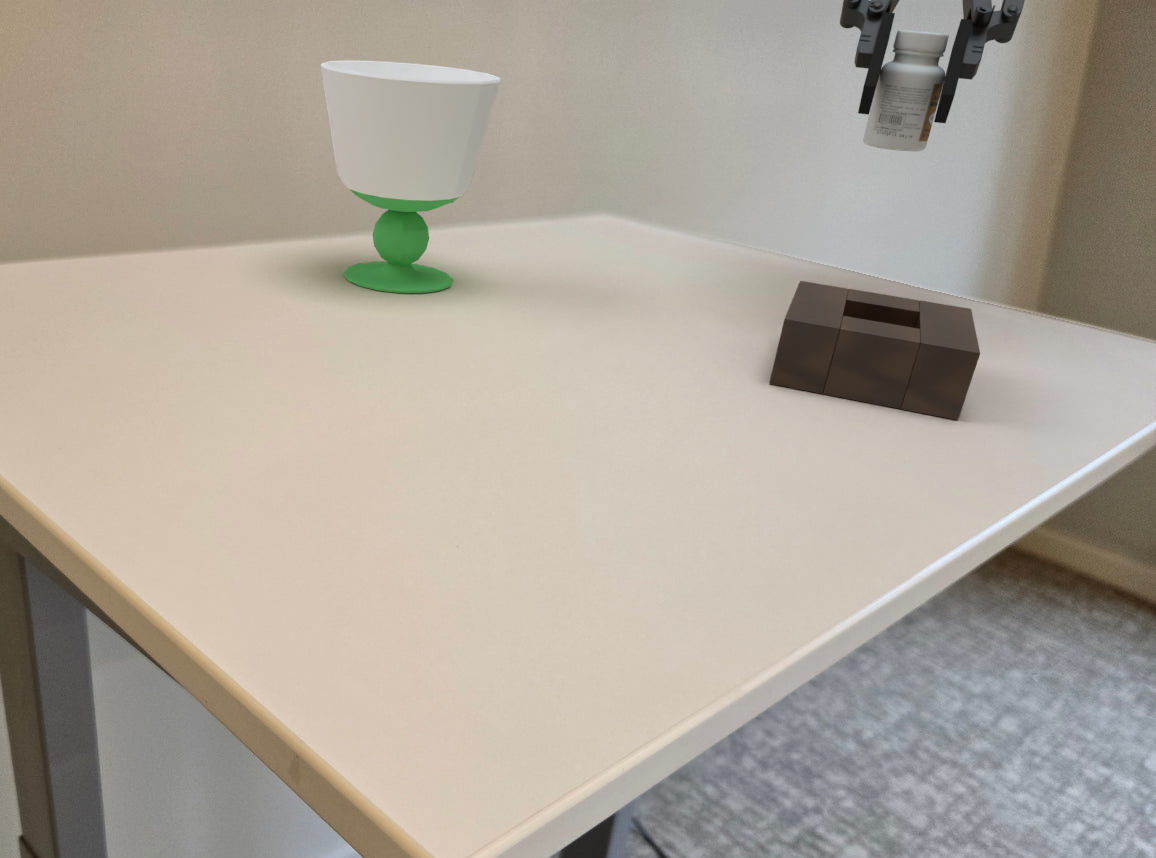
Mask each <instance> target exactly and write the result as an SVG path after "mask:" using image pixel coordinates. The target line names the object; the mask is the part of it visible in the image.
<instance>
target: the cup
mask: <svg viewBox="0 0 1156 858" xmlns="http://www.w3.org/2000/svg"><path fill="white" fill-rule="evenodd" d="M319 66H320V72H321V80H322V86H323V93H324V98H325V105H326V112H327V118H328V124H329V130H330V136H331V137H330V138H331V142H332V143H331V144H332V149H333V157H334V163H335V169H336V173H337V175H338V176H339V178H340V180H341V182H342V184H343V185H344V186H345V187H346V188H347V189H348V190H349V191H350V192H351V193H353V195H354V196H356V197H357V198H359V199H361V200H362V201H365V202H366V203H367V204H370V205H372V206H373V207H376V208H379V209H384V210H386V211H384V212H383V213H382V214H381V215H380V217H379V218H378V219H377V221H376V222H375V223H374V226H373V231H372V243H373V247H374V248H375V250H376V252H377V253H378V256H380V258H381V259H383V260H384V261H368V262H359V263H356V264H353V265H350V266H348V267H347V268H345V270H344V271H343V274H342V275H343V276H344V277H345V279H346V280H347V281H348V282H349V283H351V284H353V285H356V286H358V287H361V288H365V289H370V290H374V291H379V292H387V293H395V294H427V293H435V292H440V291H443V290H446V289H449V288H450V287H451V286H452V285H453V282H454V279H453V277H451V276H450V274H448V273H447V272H446V271H444V270H440V269H438V268H436V267H432V266H427V265H424V264H423V265H422V264H418V263H415V262H417V261H420V258H421V257H422V256H423V255H424V253H425V252H426V250H427V248H428V244H429V240H430V234H429V233H430V232H429V226H428V225H427V223H426V221H425V219H424V217H423V216H422V215H420V213H421V212H423V213H424V212H430V211H433V210H437V209H439V208H442V207H444V206H447V205H449V204H451V203H452V204H453V202H455V201H456V200H458V199H460V198H461V197H462V196H463V194H465V192H466V191H467V190H468V187H470V185H471V184H472V182H473V178H474V175H475V172H476V168H477V164H478V161H479V157H480V154H481V151H482V148H483V147H482V146H483V144H484V139H485V136H486V133H487V129H488V126H489V122H490V119H491V115H492V111H493V108H494V106H495V101H496V98H497V95H498V92H499V87H500V85H501V81H502V79H501V77H500V76H496V75H493V74H491V73H487V72H483V71H476V70H473V69H465V68H458V67H449V66H441V65H434V64H423V63H413V62H412V63H411V62H400V61H399V62H398V61H384V60H383V61H382V60H357V59H355V60H354V59H344V60H343V59H342V60H341V59H340V60H327V61H324V62H322V63H321V64H320V65H319Z"/></svg>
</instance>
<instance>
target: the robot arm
mask: <svg viewBox="0 0 1156 858" xmlns="http://www.w3.org/2000/svg"><path fill="white" fill-rule="evenodd" d="M899 2H900V0H843V1H842V7H841V14H840V19H839V25H840V27H842V28H843V29H852V28H857V29H859V31H860V35H859V39H858V42H857V46H856V50H855V52H856V53H855V56H854V60H853V61H854V66H855V68H858V69H859V68H860V69H867V73H866V76H865V80H864V84H863V87H862V88H863V89H862V93H861V96H860V102H859V106H858V110H857V111H858V112H857V114H861V115H869V114H870V110H871V106H872V102H873V98H874V94H875V90H876V86H877V82H878V79H879V75H880V71H881V69H882V67H883V65H884V60H885V56H886V52H887V49H888V44H889V40H890V38H891V37H890V36H891V32H892V27H893V24H894V20H895V15H896V12H894V10H895V9H896V7H897V6H898V4H899ZM992 3H993V2H992V0H962V15H963V18H960V22H959V25H958V27H957V31H956V34H955V38H954V41H953V44H952V47H951V52H950V56H949V59H948V63H947V68H946V71H945V80H944V84H943V87H942V91H941V94H940V98H939V101H938V105H937V108H936V112H935V116H934V119H933V123H938V124H946V123H947V120H948V117H949V114H950V111H951V107H952V104H953V101H954V99H955V95H956V91H957V86H958V83H959V79H962V80H973V79H974V77H975V76H976V75H977V73H978V70H979V66H980V65H981V61H982V58H983V53H984V49H985V45H986V43H988V42H991V41H995V42H997V43H998V44H1007V43H1009V42H1010V41H1012V39H1013V36H1014V34H1015V31H1016V29H1017V26H1018V23H1019V20H1020V18H1021V14H1022V12H1023V8H1024V5H1025V0H1002V3H1001V7H1000V10H999V9H998V10H995V8H996V4H993V5H992Z"/></svg>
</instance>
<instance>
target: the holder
mask: <svg viewBox="0 0 1156 858" xmlns="http://www.w3.org/2000/svg"><path fill="white" fill-rule="evenodd" d="M780 332H781V333H780V336H779V340H778V344H777V349H776V352H775V357H774V361H773V365H772V369H771V373H770V378H769V382H768V383H769V385H774V386H779V387H784V388H790V389H795V390H799V391H805V392H810V393H815V394H820V395H822V394H823V395H825V396H831V397H836V398H841V399H847V400H851V401H856V402H860V403H861V402H862V403H867V404H872V405H878V406H883V407H887V408H893V409H899V410H903V411H907V412H912V413H913V412H914V413H919V414H922V415H923V414H924V415H929V416H934V417H940V418H945V419H949V420H955V421H959V420H960V416H961V413H962V410H963V407H964V404H965V401H966V398H967V395H968V392H969V389H970V386H971V383H972V379H973V377H974V374H975V371H976V367H977V365H978V362H979V359H980V356H981V351H980V346H979V341H978V336H977V330H976V326H975V321H974V315H973V311H972V308H969V307H963V306H957V305H950V304H945V303H938V302H932V301H926V300H919V299H914V298H908V297H902V296H896V295H890V294H883V293H878V292H871V291H864V290H860V289H853V288H847V287H842V286H841V287H840V286H834V285H828V284H824V283H817V282H810V281H805V280H800V281H799V283H798V285H797V287H796V290H795V292H794V295H793V297H792V299H791V302H790V305H789V307H788V309H787V312H786V314H785V317H784V320H783V324H782V327H781V331H780Z"/></svg>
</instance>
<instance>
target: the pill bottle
mask: <svg viewBox="0 0 1156 858" xmlns="http://www.w3.org/2000/svg"><path fill="white" fill-rule="evenodd" d="M949 38H950V35H949V34H948V33H939V32H932V31H931V32H929V31H922V30H910V29H909V30H908V29H898V30H897V32H896V35H895V38H894V42H893V46H892V47H893V49H892V53H894V56H893V60H892V61H888V62H886V63H885V64H883V65H882V68H881V71H880V75H879V79H878V82H877V86H876V90H875V94H874V97H873V101H872V105H871V109H870V112H869V116H868V118H867V122H866V127H865V130H864V135H863V139H862V142H863V143H864V144H865V145H867V146H870V147H874V148H878V149H883V150H889V151H890V150H891V151H899V152H900V151H901V152H902V151H903V152H922V151H924V150H925V149H926V147H927V145H928V140H929V137H930V135H931V134H930V133H931V130H932V126H933V123H934V120H935V116H936V112H937V108H938V104H939V100H940V96H941V92H942V88H943V84H944V80H945V76H946V71H945V70H944V68H943V67H941V66H940V65H939V62H940V58H942V57H944V56H945V54H944V53H945V52H946V49H947V46H948V43H949V42H948V41H949Z"/></svg>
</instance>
